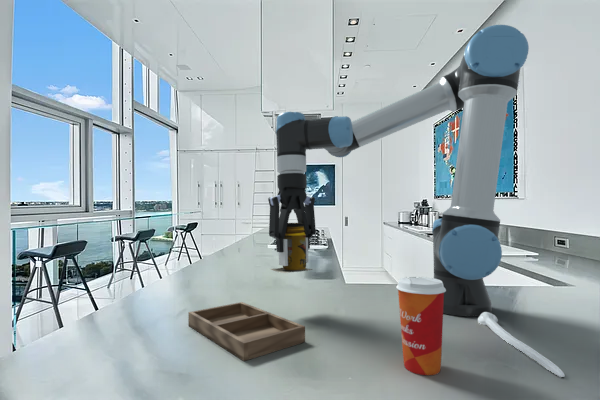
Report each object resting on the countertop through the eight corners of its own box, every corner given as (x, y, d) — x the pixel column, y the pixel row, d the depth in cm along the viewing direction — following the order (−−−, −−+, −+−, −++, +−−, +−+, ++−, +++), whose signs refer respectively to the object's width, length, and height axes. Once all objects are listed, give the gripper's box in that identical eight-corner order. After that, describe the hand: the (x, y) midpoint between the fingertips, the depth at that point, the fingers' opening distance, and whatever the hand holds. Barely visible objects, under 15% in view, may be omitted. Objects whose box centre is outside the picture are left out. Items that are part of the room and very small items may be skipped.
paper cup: (390, 358, 60) (389, 276, 61) (433, 356, 61) (432, 275, 61) (408, 380, 52) (406, 286, 53) (457, 377, 53) (455, 284, 54)
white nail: (584, 382, 52) (584, 362, 53) (556, 381, 53) (555, 362, 53) (493, 322, 80) (493, 310, 80) (475, 322, 81) (474, 310, 81)
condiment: (313, 270, 88) (312, 222, 89) (284, 274, 84) (283, 223, 84) (297, 267, 95) (296, 222, 95) (269, 270, 90) (268, 223, 90)
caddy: (305, 341, 68) (305, 326, 68) (243, 361, 60) (243, 343, 60) (241, 314, 87) (241, 302, 87) (188, 325, 79) (188, 312, 79)
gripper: (310, 176, 100) (312, 258, 99) (252, 173, 87) (254, 266, 87) (328, 174, 94) (331, 261, 93) (269, 169, 82) (271, 269, 81)
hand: (294, 263), depth 90 cm, fingers closed on condiment, 6 cm apart
